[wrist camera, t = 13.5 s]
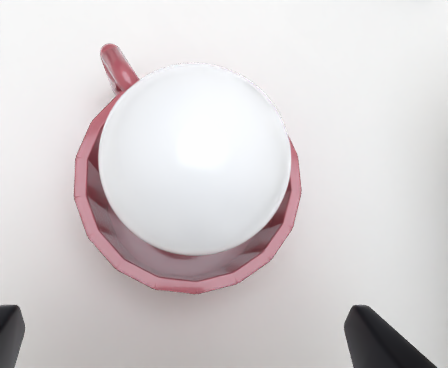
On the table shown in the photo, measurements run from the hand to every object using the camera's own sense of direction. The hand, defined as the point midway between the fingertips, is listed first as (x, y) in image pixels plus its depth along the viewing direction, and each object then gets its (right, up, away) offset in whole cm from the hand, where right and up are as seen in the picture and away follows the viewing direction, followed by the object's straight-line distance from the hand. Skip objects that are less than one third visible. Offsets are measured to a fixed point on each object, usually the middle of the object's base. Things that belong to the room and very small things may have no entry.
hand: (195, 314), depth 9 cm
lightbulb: (-1, +3, +10) cm, 10 cm away
